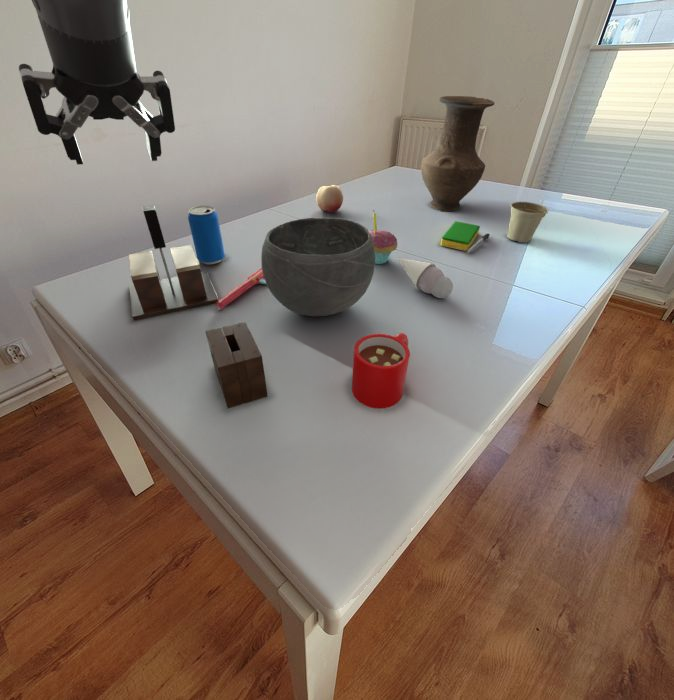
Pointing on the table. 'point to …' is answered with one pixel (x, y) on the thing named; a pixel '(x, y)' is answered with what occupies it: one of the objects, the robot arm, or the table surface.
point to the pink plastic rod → (242, 288)
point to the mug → (380, 369)
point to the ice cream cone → (427, 277)
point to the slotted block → (168, 285)
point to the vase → (455, 153)
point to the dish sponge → (460, 236)
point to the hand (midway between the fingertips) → (117, 158)
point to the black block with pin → (156, 235)
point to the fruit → (329, 198)
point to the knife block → (237, 364)
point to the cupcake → (382, 243)
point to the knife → (478, 243)
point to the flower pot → (525, 220)
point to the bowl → (318, 264)
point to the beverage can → (206, 234)
